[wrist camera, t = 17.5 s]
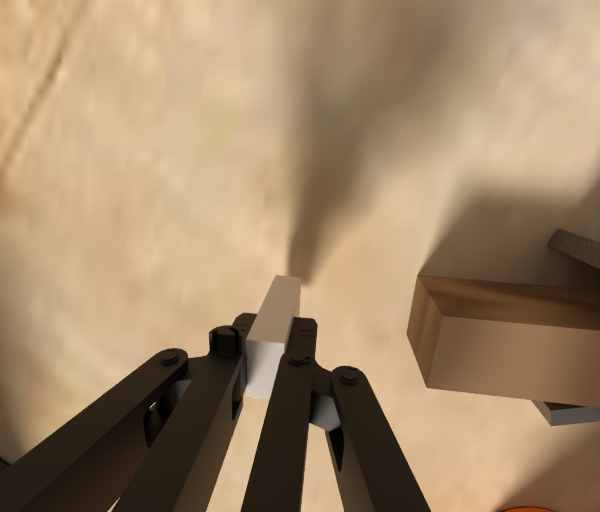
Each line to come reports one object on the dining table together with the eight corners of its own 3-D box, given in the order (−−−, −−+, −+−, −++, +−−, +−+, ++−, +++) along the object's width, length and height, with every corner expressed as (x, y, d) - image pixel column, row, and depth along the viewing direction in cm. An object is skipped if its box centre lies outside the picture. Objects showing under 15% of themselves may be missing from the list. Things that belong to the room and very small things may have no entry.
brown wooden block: (405, 331, 20) (426, 388, 15) (416, 274, 19) (442, 315, 14) (644, 355, 19) (746, 424, 14) (673, 295, 18) (796, 349, 13)
